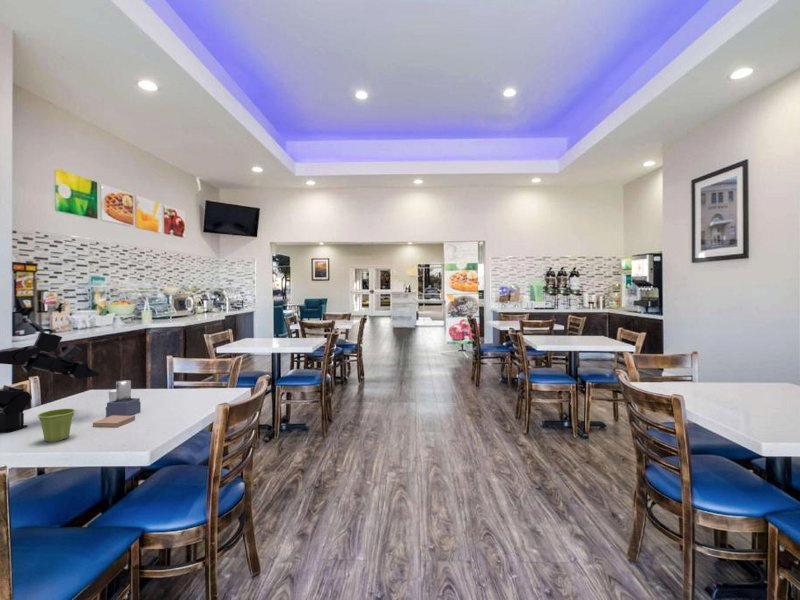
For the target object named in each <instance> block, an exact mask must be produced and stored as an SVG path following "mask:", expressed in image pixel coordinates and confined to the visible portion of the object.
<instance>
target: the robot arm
mask: <svg viewBox="0 0 800 600" xmlns="http://www.w3.org/2000/svg"><path fill="white" fill-rule="evenodd" d="M62 340H63V336H61V335H57V334H52V333H47V332H43V331H40V332H39V333H38V335H37V338H36V340H35V342H34V344H33V345H27V346H24V347H16V346H14V347H8V348H3V349H0V364H1V365H19V366H21V368H22V369H23V372H25V373H31V371H32V369H36V370H40V371H44V372H45V371H46V372H49V373H54V374H56V375H59V376H66V377H67V376H70V377H71V378H73V379H78V380H81V379H87V378H94V377H99V376H100V374H101V373H100V372H98V371H96V370H94V369H92V368H90V367H89V363H88V362H85V361H80V360H78V361H75V359H74V358H76V357H77V355H79V354H81V352H82V351H83V350H82V349H81V348H79V347H78V346H77V345H75V344H69V345H68V346H63V345H62V346H60V343H61V341H62ZM59 346H60V348H59V352H60V354H59V355H58V356H57V355H51V354H52V353H54V352H56V351H57V349H58V347H59ZM42 352H43V353H42ZM46 353H48V354H46ZM31 400H32V395H31V394H30V392H29V391H26V390H25V388H23V387H19V386H9V385H5V384H4V385H3V386H2V388H0V433H10V432H14V431H18V430H20V429H24V428H26V427H28V425H27V424H25V417H24V416H25V415H24V410H25V408H26V406H27V405H28V404H29V403H30V402H31ZM24 424H25V425H24Z"/></svg>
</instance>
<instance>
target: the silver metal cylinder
mask: <svg viewBox="0 0 800 600" xmlns="http://www.w3.org/2000/svg"><path fill="white" fill-rule="evenodd" d="M115 389H116V402H120V403H126V402H128V401H131V398H132V380H129V379H127V380H124V379H123V380H118V381H116V382H115Z"/></svg>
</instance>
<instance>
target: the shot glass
mask: <svg viewBox="0 0 800 600" xmlns="http://www.w3.org/2000/svg"><path fill="white" fill-rule="evenodd" d="M107 392H108V393H107V394H108V400H109V401H108V402H111V401H114V400H116V388H115V389H110V390H108V391H107Z"/></svg>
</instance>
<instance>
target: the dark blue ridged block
mask: <svg viewBox="0 0 800 600" xmlns="http://www.w3.org/2000/svg"><path fill="white" fill-rule="evenodd" d="M141 403H142V402H141V400H140V398H139V397H134V398H133V397H131V401H128V402H126V403H120V402H116V400H114V401H111V402H109V401H108V402H106V407H105V418H107V417H109V416H112V415H117V416H135V415H136V414H138V413H140V412H141V409H142V408H141Z"/></svg>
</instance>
